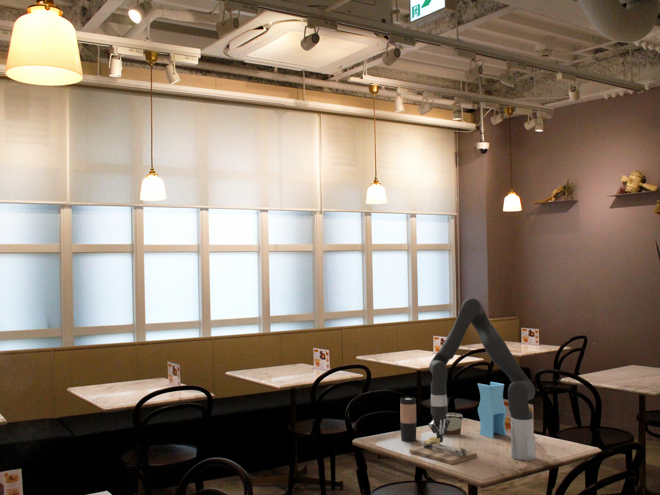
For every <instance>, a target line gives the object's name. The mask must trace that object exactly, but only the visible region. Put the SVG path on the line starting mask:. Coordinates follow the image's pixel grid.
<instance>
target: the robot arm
mask: <svg viewBox="0 0 660 495" xmlns="http://www.w3.org/2000/svg"><path fill="white" fill-rule="evenodd" d="M470 325H472V326H473V327H474V329H475V331H476V333H477V334H478V337H479V339H480V342H481V344H482V346H483V349H485V350H484V351H485V352H486V354H487V355H488V357H489V358H490V360H491V361H492V362H493V363H494V365H496V366H497V368H499V369H500V370H501V371H503V373H505V375H506V377H508V379H509V381H510V382H511V383H510V384H509V386H508V388H507V398H508V399H507V401H508V402H507V403H508V404H507V405H508V410H509V413H510V445H511V446H510V448H511V451H510V452H511V454H510V455H511V458H512V459H515V460H518V461H526V462H530V461H532V460H535V459H536V458H537V457H536V436H535V435H534V416H533V411H532V410H531V409H530V408H529V401H530V400H532V399H534V397H535V395H536V388H535V386H534V384H533V382H532V381H531V380H530V379H529V377H528V375H526V374H525V372H524V371H523V369H522V367H520V365H519V363H518V362H517V360H516V358H515V356H514V355H513V354H512V352H511V350H510V349H509V347H508V345H507V344H506V342H505V341H504V339H503V336H501V334H500V333H499V332H498V331H497V330H496V328H495V327H494V326H493V325H492V323H491V321H490V319H489V318H488V315H487V313H486V311H485V309H484V306H483V305H482V303H481V301H480V300H478V299H476V298H473V297H469V298H467V299H465V300H464V301H463V302H462V305H461V307H460V310H459V312H458V315H457V317H456V320H455V321H454V324H453V326H452V328H451V330H450V331H449V333H448V334H447V336H446V338H445V340H444V341H443V342H442V345H441V347H440V348H439V350H438V351H437V353H436V354H435V355H434V356H433V358H432V359H431V361H430V363H429V366H428V368H429V372H430V373H431V374H432V378H431V379H432V381H431V382H430V415H431V416H432V418H431V422H428V427H429V428H430V430H431V432H432V433H433V434H436V437H438V438H440V444H441V443H443V442H444V435H443V434H444V432H446V430H447V428H448V426H449V423H450V420H448V419H447V417H446V415H447V413H448V397H447V396H448V395H447V380H448V379H447V378H448V367H447V364H448V363H449V361H451V360H452V359H453V358H454V357H455V355H456V353H457V352H458V350H459V349H460V347H461V344H462V342H463V339H464V337H465V334H466V332H467V330H468V328H469V326H470ZM444 428H445V429H444Z"/></svg>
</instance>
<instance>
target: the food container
mask: <svg viewBox="0 0 660 495" xmlns="http://www.w3.org/2000/svg"><path fill="white" fill-rule="evenodd" d="M446 417H447V419H448V420H450V423H449V426H448V428H447V430H446V432H444V434H443V436H450V437H451V436H455V437H456V436H459V437H460V436H461V435H462V424H463V422H462V421H463V420H464V416H463V414H461V413H457V412H447V415H446ZM444 429H445V428H444Z"/></svg>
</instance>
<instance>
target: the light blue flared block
mask: <svg viewBox="0 0 660 495" xmlns="http://www.w3.org/2000/svg"><path fill="white" fill-rule="evenodd" d="M477 387H478V390H479V395H480V398H479V405H478V407H477V413H478V417H479V421H480V429H479V435H480V436H484V437H486V436H487V438H491V439H494V435H495V434H497V433H498V434H497V435H501V436H504V437H506V435H507V436H508V434H507V431H506V426H505V425H506V417H507V413H508V412H507V408H506V405H505V402H504V387H505V384H504V383H500V382H494V381H490V383H489V385H488V384H483V383H477ZM499 400H500V401H499Z"/></svg>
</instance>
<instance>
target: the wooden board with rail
mask: <svg viewBox="0 0 660 495" xmlns="http://www.w3.org/2000/svg"><path fill="white" fill-rule="evenodd" d="M443 445H444V446H446V445H445V444H443ZM447 446H448V447H450V446H449V445H447ZM451 447H452V448H455V449H459V450H455V453H454V452H451V451H447V450H444V449H440V448H436V447H433V446H429V445H426V444H423V445H421V446H418V447H414V448H411V449H409V454H412V453H413V455H416V456H419V457H423V458H428V459H430V460H434V461H439V462H442V463H445V464H449V465H455V464H458V463H461V462H464V461H465V462H466V461H467V460H472V459H475V458H478V454H477V452H472V451H468V450H467V449H466V448H462V447H461V448H457V447H453V446H451ZM460 450H463V453H461V451H460Z"/></svg>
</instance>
